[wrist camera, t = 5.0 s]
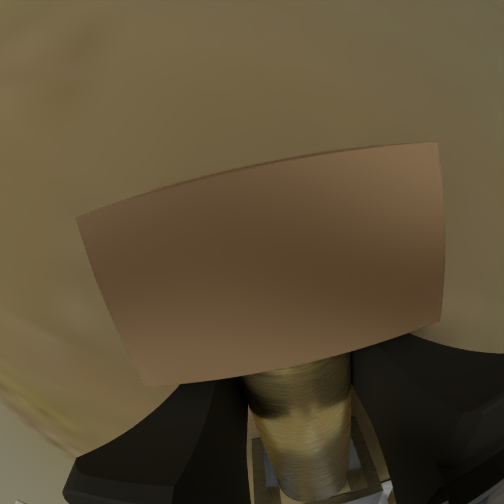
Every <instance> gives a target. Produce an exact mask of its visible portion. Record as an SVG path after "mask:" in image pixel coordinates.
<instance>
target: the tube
mask: <svg viewBox="0 0 504 504" xmlns="http://www.w3.org/2000/svg"><path fill="white" fill-rule="evenodd" d="M239 379H240V382H241V385H242V388H243V391H244V393H245V396H246V399H247V402H248V405H249V408H250V410H251V413H252V416H253V419H254V421H255V424H256V427H257V430H258V432H259V435H260V438H261V440H262V443H263V445H264V448H265V451H266V453H267V456H268V458H269V461H270V463H271V466H272V468H273V471H274V473H275V476H276V478H277V481H278V483H279V486H280V488H281V490H282V491H283V492H284V493H285V494H286V495H287V496H288V497H290V498H291V499H294V500H296V501H299V502H306V503H310V502H314V501H319V500H323V499H328V498H330V497H332V496H333V495H335V494H336V493H337V492H338V491H340V489H341V488H342V487H343V486H344V484H345V482H346V480H347V477H348V468H349V454H350V433H351V351H350V352H347V353H343V354H340V355H336V356H332V357H328V358H325V359H321V360H317V361H312V362H308V363H304V364H300V365H295V366H291V367H286V368H281V369H276V370H271V371H266V372H261V373H256V374H250V375H244V376H239Z"/></svg>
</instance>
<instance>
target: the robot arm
mask: <svg viewBox="0 0 504 504" xmlns="http://www.w3.org/2000/svg"><path fill="white" fill-rule="evenodd" d="M351 383H352V385H353V387H354V389H355V391H356V393H357V395H358V397H359V399H360V401H361V403H362V405H363V406H364V408H365V410H366V412H367V414H368V416H369V418H370V420H371V422H372V425H373V427H374V429H375V432H376V435H377V438H378V441H379V443H380V446H381V449H382V452H383V455H384V459H385V462H386V465H387V468H388V472H389V475H390V479H391V480H389V481H386V482H384V483H381V485H382V487H383V490H384V491H383V493H382V496H381V498H380V501H379V503H378V504H389V503H388V501H387V499H388V497H389V494H390V492H391V490H392V488H393V490H394V494H395V499H396V503H397V504H481V503H482V504H504V354H496V353H484V352H475V351H468V350H463V349H458V348H453V347H449V346H445V345H441V344H438V343H435V342H431V341H428V340H425V339H422V338H420V337H417V336H414V335H412V334H410V333H407V334H404V335H401V336H398V337H395V338H392V339H389V340H386V341H383V342H380V343H377V344H374V345H371V346H367V347H364V348H361V349H357V350H354V351H351ZM247 421H248V402H247V399H246V396H245V393H244V391H243V388H242V385H241V382H240V379H239V376H238V377H232V378H225V379H218V380H211V381H203V382H194V383H185V384H180V385H179V386H178V387H177V389H176V390H175V391H174V392H173V393H172V394H171V395H170V396H169V397H168V398H167V399H166V400H165V401H164V402H163V403H162V404H161V405H160V406H159V407H158V408H157V409H155V410H154V411H153V412H152V413H151V414H149V415H148V416H147V417H146V418H144V419H143V420H142V421H141V422H139V423H138V424H137V425H135V426H134V427H133V428H131V429H130V430H128V431H127V432H125V433H124V434H122V435H121V436H119V437H117V438H116V439H114V440H112V441H111V442H109V443H107V444H105V445H103V446H101V447H99V448H97V449H95V450H93V451H91V452H89V453H86V454H84V455H82V456H80V457H77V458H76V460H75V462H74V465H73V467H72V470H71V472H70V474H69V477H68V479H67V482H66V484H65V487H64V489H63V496H64V498H65V500H66V501H67V502H68V503H69V504H251V500H250V490H249V481H248V469H247V455H246V445H247ZM15 504H26V503H24V502H22V501H20V500H16V502H15Z"/></svg>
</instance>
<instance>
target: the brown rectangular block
mask: <svg viewBox="0 0 504 504" xmlns="http://www.w3.org/2000/svg"><path fill="white" fill-rule="evenodd" d="M76 220H77V223H78V227H79V230H80V234H81V237H82V240H83V243H84V246H85V249H86V252H87V255H88V258H89V261H90V264H91V267H92V270H93V272H94V275H95V278H96V281H97V283H98V286H99V288H100V291H101V293H102V296H103V298H104V301H105V303H106V306H107V308H108V310H109V313H110V315H111V317H112V320H113V322H114V324H115V326H116V329H117V331H118V333H119V335H120V337H121V339H122V341H123V343H124V346H125V348H126V350H127V352H128V354H129V356H130V358H131V360H132V362H133V363H134V365H135V367H136V369H137V371H138V373H139V375H140V377H141V378H142V380H143V382H144V384H145V386H146V387H150V386H164V385H175V384H185V383H194V382H203V381H211V380H218V379H225V378H232V377H238V376H244V375H250V374H256V373H261V372H266V371H271V370H276V369H281V368H286V367H291V366H295V365H300V364H304V363H308V362H312V361H317V360H321V359H325V358H328V357H332V356H336V355H340V354H343V353H347V352H350V351H354V350H357V349H361V348H364V347H367V346H371V345H374V344H377V343H380V342H383V341H386V340H389V339H392V338H395V337H398V336H401V335H404V334H407V333H409V332H412V331H415V330H418V329H420V328H423V327H425V326H428V325H431V324H433V323H436V322H438V321H440V317H441V308H442V298H443V285H444V267H445V216H444V197H443V185H442V175H441V166H440V158H439V151H438V144H437V142H425V143H406V144H391V145H378V146H367V147H357V148H348V149H341V150H334V151H327V152H321V153H315V154H309V155H303V156H297V157H291V158H286V159H281V160H275V161H270V162H265V163H260V164H255V165H251V166H246V167H241V168H237V169H233V170H228V171H224V172H220V173H215V174H211V175H207V176H203V177H199V178H195V179H191V180H188V181H184V182H180V183H176V184H173V185H169V186H166V187H162V188H159V189H155V190H152V191H149V192H146V193H143V194H140V195H137V196H134V197H131V198H128V199H125V200H122V201H119V202H116V203H114V204H111V205H108V206H105V207H103V208H100V209H97V210H95V211H92V212H89V213H87V214H84V215H82V216H79V217H76Z"/></svg>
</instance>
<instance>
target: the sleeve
mask: <svg viewBox="0 0 504 504" xmlns="http://www.w3.org/2000/svg"><path fill="white" fill-rule="evenodd" d="M252 460H253V482H254V503H255V504H281V497H280V488H279V483H278V481H277V478H276V476H275V473H274V471H273V468H272V466H271V463H270V461H269V458H268V456H267V453H266V451H265V448H264V445H263V443H262V440H261V438H256V439H252ZM347 478H348V481H349V485H350V488H351V492H350V493H347V494H343V495H340V496H336V497H332V498H328V499H323V500H319V501H314V502H310V503H305V504H378V503H379V501H380V498H381V496H382V493H383V491H384V490H383V487H382V485H381V482H380V479H379V477H378V474H377V471H376V469H375V466H374V463H373V461H372V458H371V456H370V453H369V450H368V448H367V445H366V443H365V440H364V437H363V435H362V432H361V430H360V427H359V425H358V422H357V420H356V417H352V418H351V433H350V454H349V468H348V477H347Z"/></svg>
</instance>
